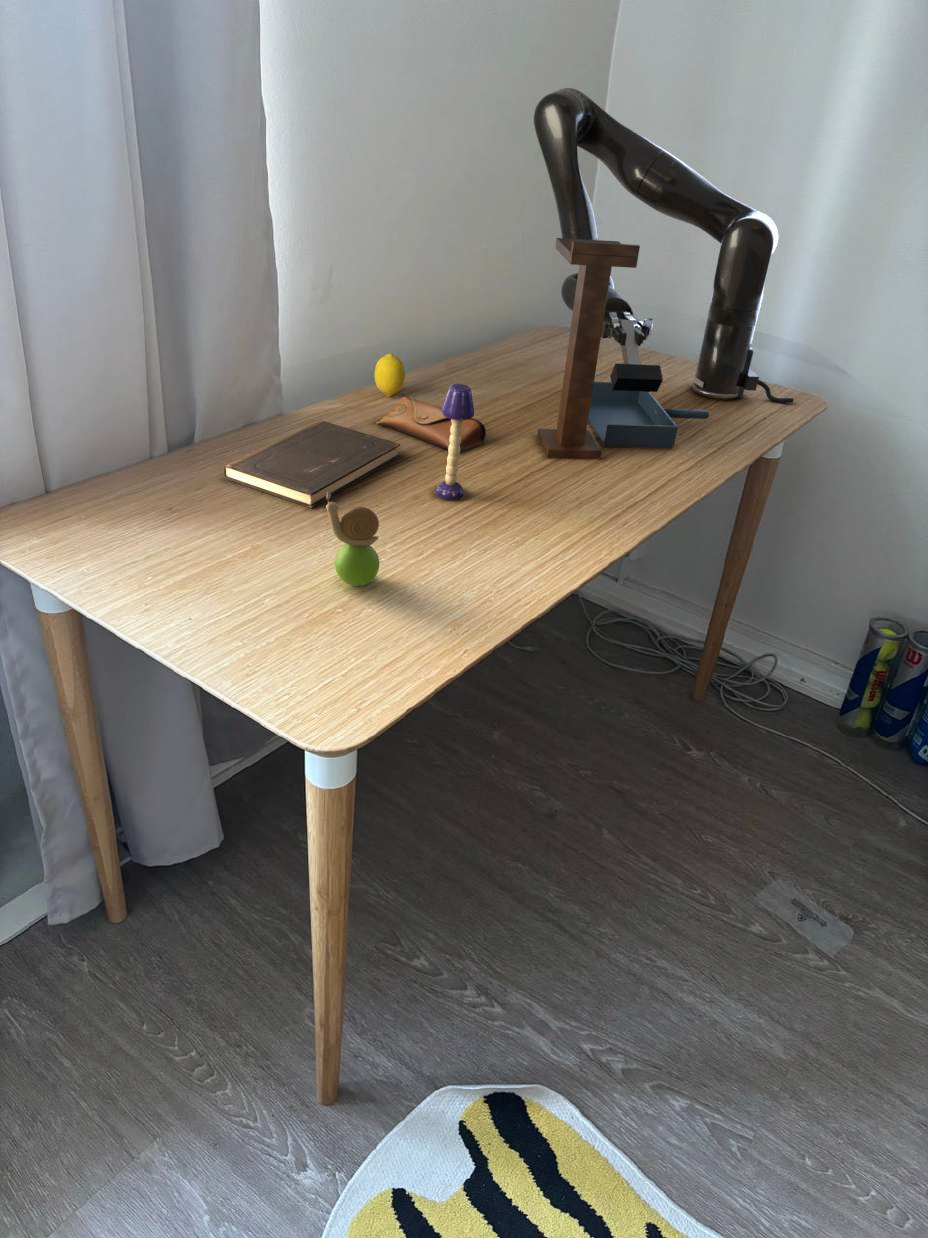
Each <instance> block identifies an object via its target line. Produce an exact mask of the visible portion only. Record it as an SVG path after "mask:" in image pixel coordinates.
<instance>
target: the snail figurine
mask: <svg viewBox="0 0 928 1238" xmlns="http://www.w3.org/2000/svg"><path fill="white" fill-rule="evenodd" d="M326 498H327V504H326V506H325V508H326V512H327V514H328V518H329V519H328V520H329V523H330V526H331V530H332V532H333V533H334V535H335V537H336V538H337V539H338V540H339V541H340V542H342V543H344V545H343V546H341V547H340V548H339V549H338V551H337V553H336V555H335V557H334V568H335V571H336V575H337V576H338V578H339V579H341V581H343V582H344V583H346V584H347V585H350V586H355V587H359V586H360V587H361V586H364V585H367V584H369V583H370V582H372V581H373V580H374V579H375V578H376V576H377V575H378V574H379V570H380V557H379V555H378V552H377V551H376V550H375V548H374V547H372V545H373V544H375V543H376V542H378V540H379V536H378V535H376V534H377V532H378V531H379V528H380V527H379V526H380V522H379V517H378V516H377V514H376V513H375V512H374V511H373V510H372V509H370V508H368V507H366V506H354V507H351V508H349V509H348V510H346V511H345V512H344V513H343V515H342V516H341V519H340V518H339V517H340V516H339V514H338V511H339V505H338V504H337V502H334V501H329V500H331V498H332V497H331V493H329V492H328V493H327V496H326Z"/></svg>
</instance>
